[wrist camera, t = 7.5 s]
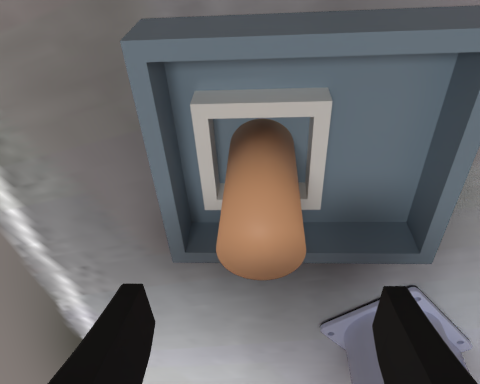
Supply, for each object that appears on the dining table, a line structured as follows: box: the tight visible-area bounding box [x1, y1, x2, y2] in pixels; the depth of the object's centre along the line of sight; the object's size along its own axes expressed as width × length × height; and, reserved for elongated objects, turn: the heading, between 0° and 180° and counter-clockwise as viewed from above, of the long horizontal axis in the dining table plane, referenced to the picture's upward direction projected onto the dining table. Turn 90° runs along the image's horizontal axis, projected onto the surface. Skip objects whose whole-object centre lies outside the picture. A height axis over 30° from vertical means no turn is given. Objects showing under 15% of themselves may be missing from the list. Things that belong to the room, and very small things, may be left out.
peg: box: [216, 119, 306, 280], centre depth 16 cm, size 3×3×7 cm
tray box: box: [120, 6, 480, 264], centre depth 18 cm, size 14×12×3 cm
